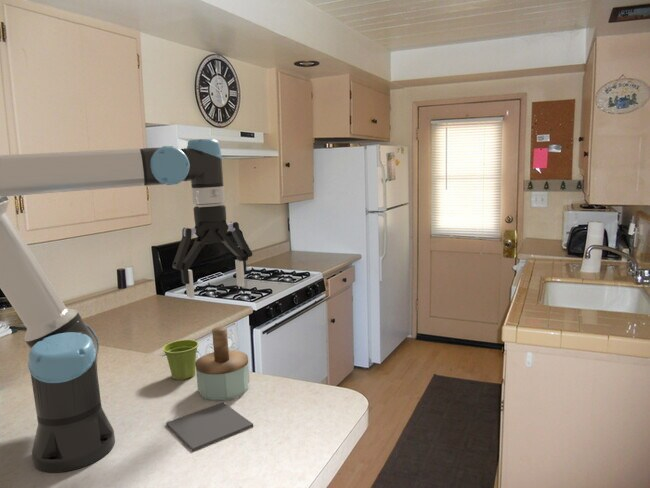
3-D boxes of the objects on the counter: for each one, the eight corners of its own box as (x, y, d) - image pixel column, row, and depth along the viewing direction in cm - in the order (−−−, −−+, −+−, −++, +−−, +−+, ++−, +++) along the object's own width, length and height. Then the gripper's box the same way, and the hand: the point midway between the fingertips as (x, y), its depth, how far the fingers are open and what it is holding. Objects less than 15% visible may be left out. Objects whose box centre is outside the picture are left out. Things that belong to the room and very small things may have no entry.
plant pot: (196, 382, 135) (193, 351, 133) (160, 383, 135) (157, 352, 133) (205, 368, 144) (202, 338, 142) (172, 369, 144) (169, 340, 143)
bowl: (213, 405, 121) (211, 377, 120) (192, 389, 130) (189, 363, 129) (257, 389, 128) (255, 363, 127) (233, 375, 138) (231, 351, 137)
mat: (193, 451, 102) (192, 448, 102) (166, 425, 113) (166, 422, 113) (253, 426, 111) (253, 423, 111) (223, 404, 122) (222, 402, 121)
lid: (210, 379, 119) (207, 342, 118) (187, 363, 129) (183, 329, 128) (257, 363, 127) (255, 329, 126) (232, 350, 137) (230, 318, 136)
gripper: (164, 210, 111) (174, 304, 115) (262, 200, 127) (267, 283, 130) (152, 209, 117) (161, 298, 121) (246, 199, 132) (252, 279, 136)
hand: (216, 291), depth 125 cm, fingers open, 13 cm apart
